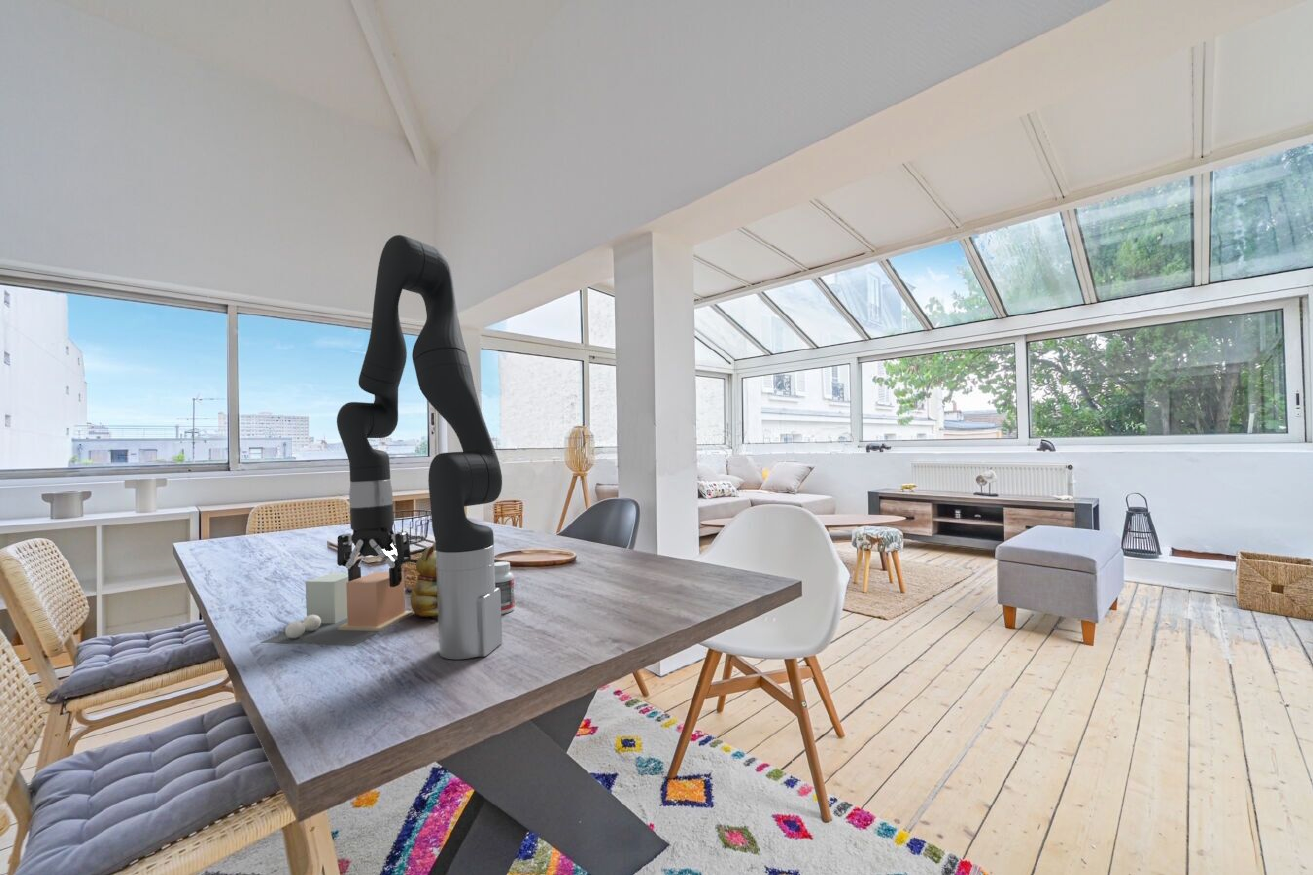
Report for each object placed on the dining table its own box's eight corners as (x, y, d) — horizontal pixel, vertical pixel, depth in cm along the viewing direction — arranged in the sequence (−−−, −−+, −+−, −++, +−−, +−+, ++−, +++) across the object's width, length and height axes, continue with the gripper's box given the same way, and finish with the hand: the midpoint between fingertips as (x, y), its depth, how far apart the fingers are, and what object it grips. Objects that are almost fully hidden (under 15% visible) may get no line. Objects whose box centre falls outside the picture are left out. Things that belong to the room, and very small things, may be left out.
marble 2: (325, 628, 102) (324, 612, 102) (312, 634, 99) (312, 617, 99) (311, 628, 103) (311, 612, 103) (298, 633, 100) (298, 617, 100)
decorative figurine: (443, 623, 104) (440, 546, 104) (401, 624, 104) (398, 547, 104) (461, 607, 113) (459, 537, 113) (423, 609, 113) (420, 538, 113)
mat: (415, 615, 109) (414, 611, 109) (354, 647, 92) (354, 642, 92) (333, 613, 113) (333, 609, 113) (260, 644, 96) (260, 639, 96)
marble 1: (309, 635, 98) (308, 619, 98) (295, 641, 95) (295, 624, 95) (295, 635, 99) (294, 618, 99) (281, 641, 96) (280, 624, 96)
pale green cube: (358, 612, 111) (357, 573, 111) (335, 623, 105) (333, 581, 105) (331, 612, 112) (330, 573, 112) (307, 622, 106) (305, 581, 106)
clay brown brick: (405, 612, 109) (404, 572, 109) (377, 626, 101) (376, 582, 101) (377, 611, 110) (375, 571, 110) (347, 625, 102) (346, 582, 102)
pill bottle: (518, 611, 109) (516, 563, 109) (492, 617, 106) (490, 568, 106) (510, 605, 114) (508, 559, 114) (484, 610, 111) (482, 563, 111)
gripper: (416, 500, 108) (419, 581, 107) (353, 503, 110) (356, 582, 109) (391, 504, 100) (395, 591, 100) (324, 507, 102) (328, 592, 102)
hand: (375, 586), depth 105 cm, fingers open, 8 cm apart
